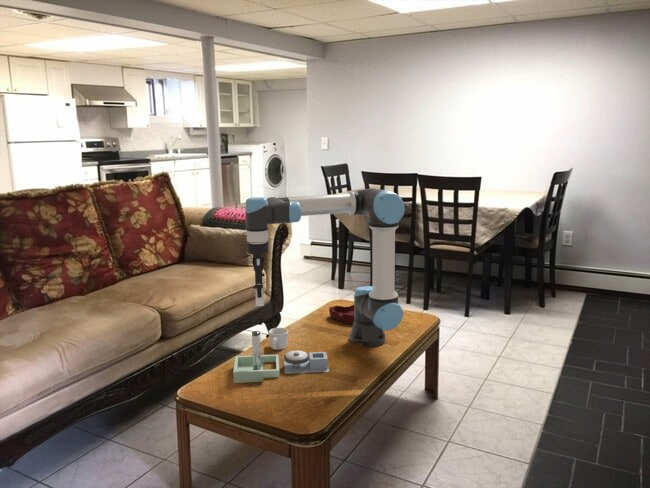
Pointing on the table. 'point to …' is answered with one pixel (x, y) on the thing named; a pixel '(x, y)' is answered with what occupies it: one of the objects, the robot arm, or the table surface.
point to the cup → (278, 338)
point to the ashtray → (342, 313)
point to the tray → (247, 374)
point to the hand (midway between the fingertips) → (259, 300)
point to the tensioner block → (305, 362)
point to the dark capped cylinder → (256, 350)
